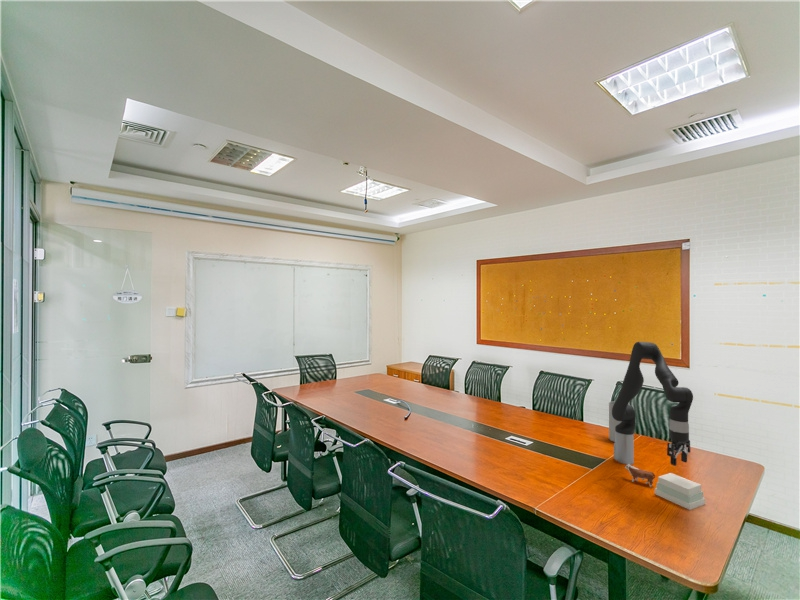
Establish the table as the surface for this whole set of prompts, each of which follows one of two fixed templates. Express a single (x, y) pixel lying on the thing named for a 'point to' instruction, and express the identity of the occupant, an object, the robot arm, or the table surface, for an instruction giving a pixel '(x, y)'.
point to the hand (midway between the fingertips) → (678, 463)
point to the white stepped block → (680, 491)
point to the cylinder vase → (612, 422)
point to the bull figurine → (640, 474)
